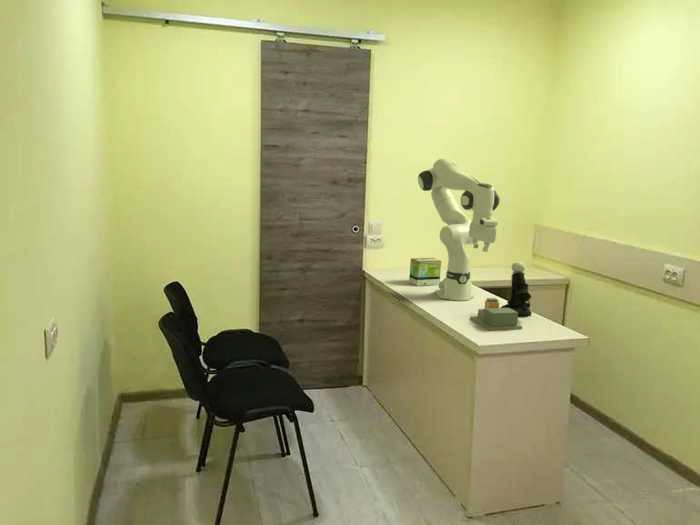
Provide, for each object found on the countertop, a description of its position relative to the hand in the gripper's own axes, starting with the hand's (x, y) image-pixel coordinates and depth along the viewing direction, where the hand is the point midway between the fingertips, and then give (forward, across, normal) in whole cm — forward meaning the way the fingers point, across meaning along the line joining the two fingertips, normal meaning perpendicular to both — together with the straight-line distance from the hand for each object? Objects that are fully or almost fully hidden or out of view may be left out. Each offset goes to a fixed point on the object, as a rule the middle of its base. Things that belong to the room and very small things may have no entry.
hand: (480, 249), depth 269 cm
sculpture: (+31, +2, +20) cm, 38 cm away
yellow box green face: (+30, +9, +3) cm, 31 cm away
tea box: (+31, -68, +1) cm, 75 cm away
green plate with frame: (+31, +14, +3) cm, 34 cm away
